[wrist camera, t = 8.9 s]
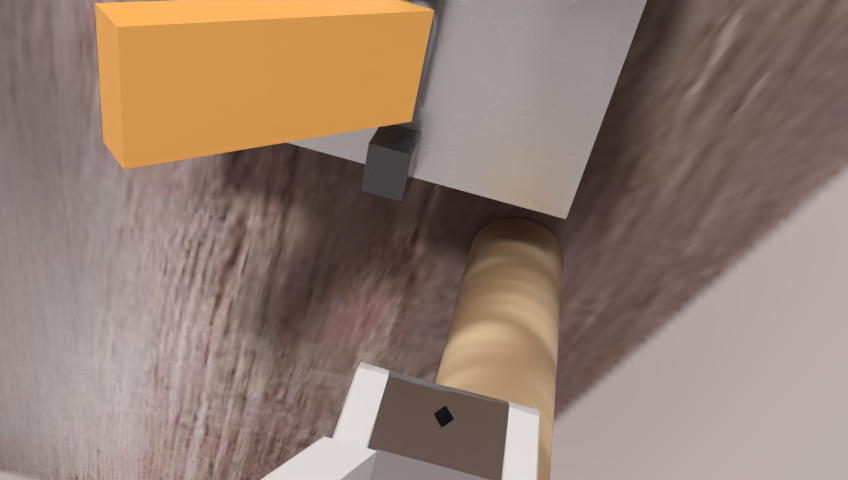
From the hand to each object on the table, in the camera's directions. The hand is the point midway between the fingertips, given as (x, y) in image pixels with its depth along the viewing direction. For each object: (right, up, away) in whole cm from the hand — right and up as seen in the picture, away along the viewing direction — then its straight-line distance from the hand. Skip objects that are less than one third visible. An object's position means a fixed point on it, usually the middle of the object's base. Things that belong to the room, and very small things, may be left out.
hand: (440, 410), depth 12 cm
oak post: (+4, +2, +23) cm, 23 cm away
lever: (-1, +9, +13) cm, 16 cm away
